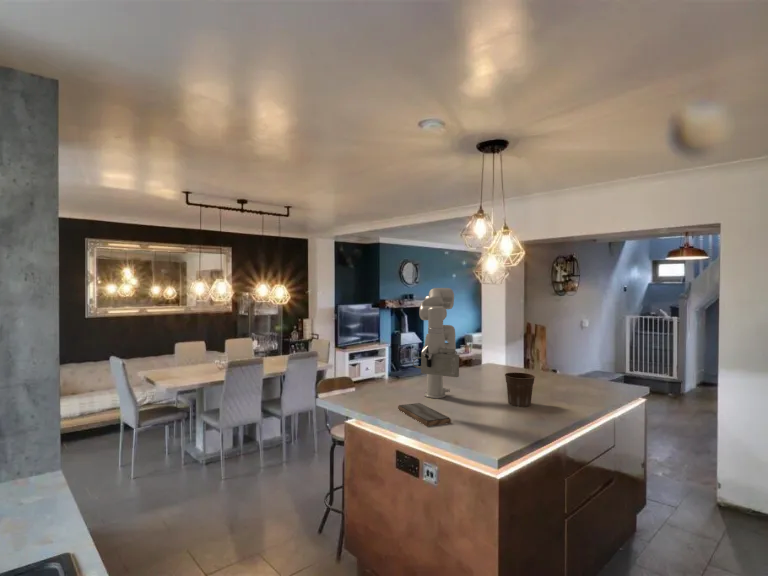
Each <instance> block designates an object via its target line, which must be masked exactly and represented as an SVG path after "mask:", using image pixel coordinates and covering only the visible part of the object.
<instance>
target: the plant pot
mask: <svg viewBox="0 0 768 576" xmlns="http://www.w3.org/2000/svg"><path fill="white" fill-rule="evenodd" d="M504 376H505V383H506V390H507V391H506V393H507V404H508V405H511V406H514V407H517V406H519V408H524V407H530V406H532V396H533V387H534V384H535V378H536V376H535V375H534V374H531V373H526V372H506V373H504Z"/></svg>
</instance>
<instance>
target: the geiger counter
mask: <svg viewBox="0 0 768 576" xmlns="http://www.w3.org/2000/svg"><path fill="white" fill-rule="evenodd" d="M424 348H425V345H424V346H423V347H422V350H423V349H424ZM439 352H440V354H432V356H431V367H427V359H426V358H425V356H424V355H423V354H422V353H421V352H420V354H421V355H420V356H421V357H420V356H419V357H416V358H414V359H413V361H412V366H413V367H415V368H416V369H420V373H421V374H424V375H427V374H431V375H440V376H443V377H448V378H449V377H451V378H459V376H460V354H458V351H457V350H456V351H455V349H447V348H440V349H439ZM455 352H456V354H455ZM444 353H451V354H444ZM426 354H427V353H426ZM418 359H421V361H420V362H421V363H420V366H419V365H415V364H414V362H415V361H416V360H418Z"/></svg>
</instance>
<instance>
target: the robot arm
mask: <svg viewBox="0 0 768 576" xmlns="http://www.w3.org/2000/svg"><path fill="white" fill-rule="evenodd" d="M454 302H455V293H454V291H453V288H450V287H433V288H432V289H430V290H429V292H428V295H426V296H425V297H424V300H423V301H422V302H421V303H420V306H419V310H418V311H419V312H418V313H419V318H420V319H421V320H422V321H427V325H428V326H427V328H428V329H427V333H426V335H425V338H424V339H425V342H424V346H425V348H424V349H423V348H422V350H421V351H420V354H421V353H422V354H423V355H424V356H425V358H426V359H427V367H431V356H432V354H440V352H439V349H440V348H447V349H455V351H457V350H456V349H457V347H456V329H455V327H454V326H453V325H450V324H444V320H445V319H446V318H447V316H448V315H447V314H448V311H447V310H451V309H452V308H453V307H454V306H455V305H454ZM426 353H427V354H426ZM444 354H451V353H444ZM455 354H456V352H455ZM456 355H457V354H456ZM448 392H451V389H450V388H445V387H444V376H440V375H431V374H426V392H424V394H423V396H424V397H427V398H429V399H430V398H431V399H442V398H446V395H447V394H446V393H448Z"/></svg>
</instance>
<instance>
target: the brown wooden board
mask: <svg viewBox="0 0 768 576" xmlns="http://www.w3.org/2000/svg"><path fill="white" fill-rule="evenodd" d="M398 409H399V410H400V412H401V411H402V412H401V413H403V412H404V413H405V414H404V413H403V414H404V415H406V414H407V415H406V416H408V415H409V416H408V417H410V418H411V417H412V418H411V419H413V418H414V419H413V420H415V419H416V420H417V422H418V421H419V422H418V423H420V422H421V423H420V424H422V425H423V424H424V425H423V426H425V427H432V425H433V426H440V425H439V424H441V425H447V424H446V423H448V424H451V423H452V422H451V421H452V420H451V417H449V416H447V415H445V414H444V413H441V412H439V411H437V410H434V409H433V408H431V407H428V406H427V405H425V404H423V403H422V402H417V403H408V404H407V403H405V404H399V405H397V410H398ZM399 410H398V411H399ZM416 420H415V421H416Z"/></svg>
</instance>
